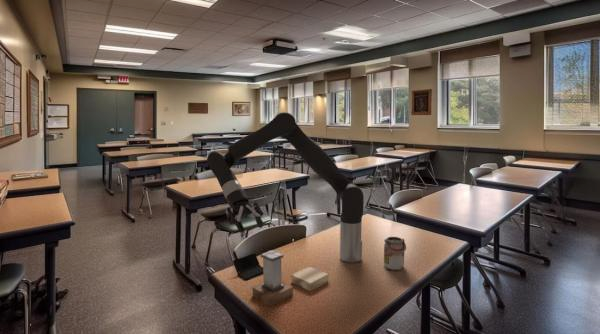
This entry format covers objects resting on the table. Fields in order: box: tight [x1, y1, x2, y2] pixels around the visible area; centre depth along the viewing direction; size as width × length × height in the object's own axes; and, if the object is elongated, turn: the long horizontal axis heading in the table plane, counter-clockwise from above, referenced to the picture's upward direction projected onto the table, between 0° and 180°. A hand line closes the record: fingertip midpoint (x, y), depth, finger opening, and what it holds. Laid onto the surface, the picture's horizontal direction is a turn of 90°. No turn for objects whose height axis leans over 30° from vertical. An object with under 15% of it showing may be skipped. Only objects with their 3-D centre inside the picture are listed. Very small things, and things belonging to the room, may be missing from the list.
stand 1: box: [252, 281, 294, 307], centre depth 117 cm, size 10×10×3 cm
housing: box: [260, 249, 284, 293], centre depth 116 cm, size 6×5×12 cm
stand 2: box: [290, 266, 330, 292], centre depth 127 cm, size 10×10×3 cm
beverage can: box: [383, 236, 407, 271], centre depth 138 cm, size 9×8×12 cm
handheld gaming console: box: [232, 253, 263, 281], centre depth 135 cm, size 12×7×10 cm
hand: (252, 229), depth 124 cm, fingers open, 8 cm apart
